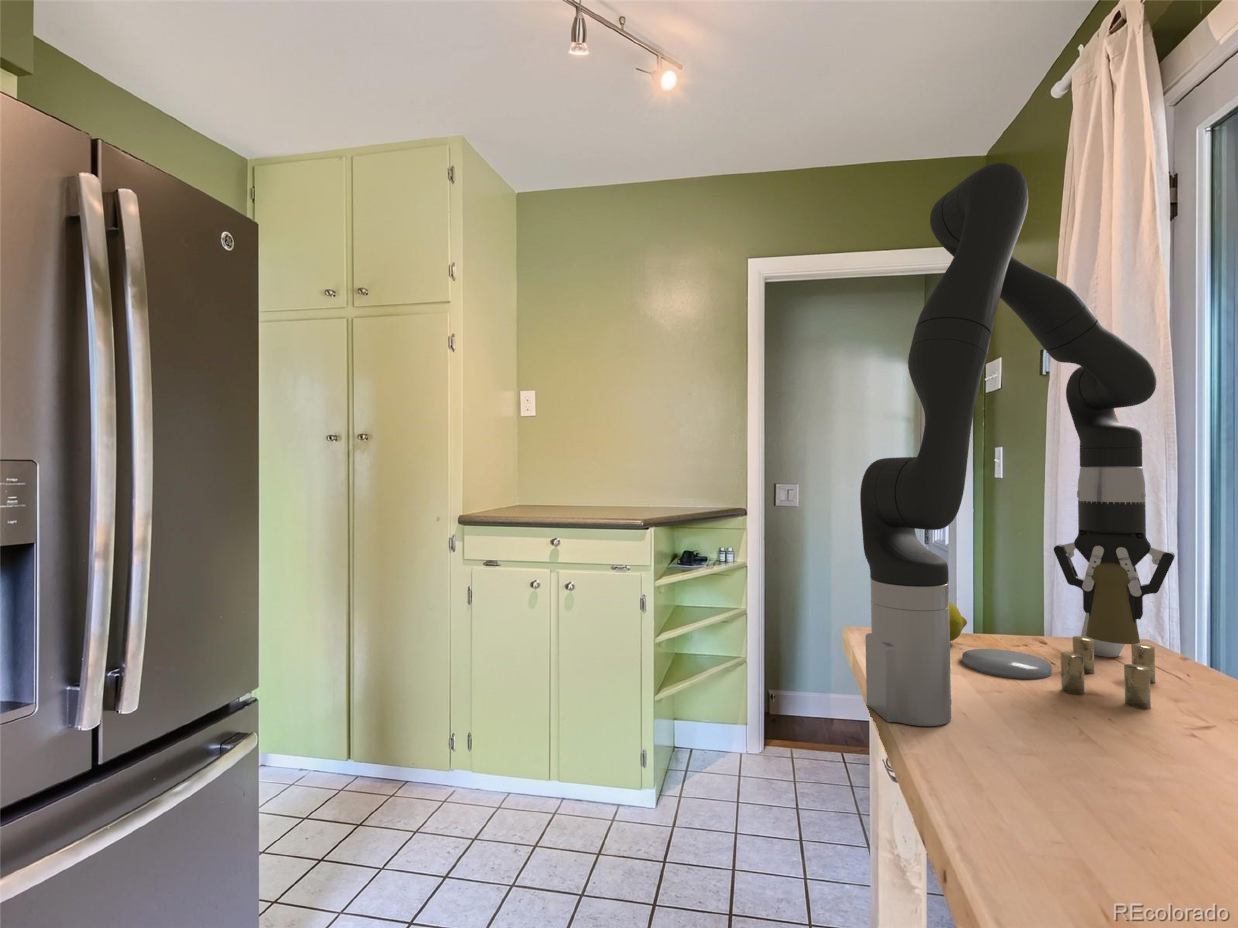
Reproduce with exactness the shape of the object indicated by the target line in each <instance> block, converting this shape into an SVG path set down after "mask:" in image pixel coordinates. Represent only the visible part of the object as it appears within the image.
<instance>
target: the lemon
mask: <svg viewBox="0 0 1238 928" xmlns="http://www.w3.org/2000/svg"><path fill="white" fill-rule="evenodd" d="M967 624H968V621H967V619H966V617H964V616H962V614H961V612H960V610H959V608H958V607H957V605H955V604H954V603H953V602H951V601H949V629H950V642H953V641H955V640H957V638H959V637H960V635H961V633H962V631H963V629H964V628H965V627H966V626H967Z"/></svg>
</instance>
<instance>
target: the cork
mask: <svg viewBox="0 0 1238 928" xmlns="http://www.w3.org/2000/svg"><path fill="white" fill-rule="evenodd" d="M1092 568H1093V569H1094V571H1093V576H1091V577H1092V580H1093V581H1094V589H1093V592H1094V597H1093V603H1092V609H1091V615H1090V617H1089V619H1088V626H1087V632H1086V636H1087V637H1089V638H1092V639H1095V640H1099V641H1104V642H1110V643H1118V644H1125V645H1131V644H1141V639H1140V634H1139V629H1138V623H1137V622H1138V621H1137V622H1136V623H1134V621H1133V618H1132V613H1131V608H1130V603H1129V596H1131V593H1130V590H1129V587H1128V584H1129V583H1130V581H1131V580H1130V579H1129V578H1128V573H1127V571H1128V572H1129V570H1127V571H1126V570H1125V569H1124V568H1123V567H1122V566H1121V564H1119V563H1113V562H1101V563H1100V564H1099V565H1097V566H1096V567H1095V568H1094V567H1092Z"/></svg>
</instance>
